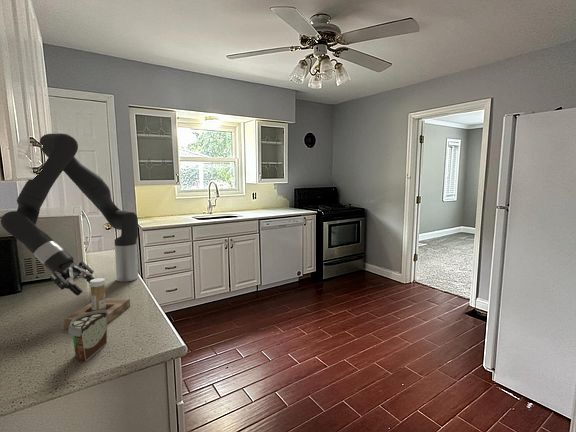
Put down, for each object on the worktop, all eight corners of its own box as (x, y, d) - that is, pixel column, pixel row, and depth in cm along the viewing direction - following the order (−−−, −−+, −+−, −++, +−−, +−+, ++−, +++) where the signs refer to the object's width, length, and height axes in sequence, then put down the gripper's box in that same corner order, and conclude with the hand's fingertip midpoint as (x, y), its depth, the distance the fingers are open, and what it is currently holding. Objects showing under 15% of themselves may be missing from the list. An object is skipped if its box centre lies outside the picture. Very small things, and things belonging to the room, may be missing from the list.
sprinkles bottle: (107, 317, 109) (105, 280, 108) (92, 320, 107) (89, 282, 105) (106, 312, 113) (104, 276, 111) (91, 315, 111) (89, 278, 109)
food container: (90, 340, 94) (88, 308, 93) (110, 340, 94) (108, 309, 93) (59, 364, 82) (56, 328, 81) (81, 365, 82) (79, 329, 80)
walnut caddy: (99, 305, 119) (98, 297, 119) (130, 306, 119) (129, 298, 118) (64, 327, 101) (64, 319, 101) (100, 328, 101) (100, 320, 100)
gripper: (44, 254, 100) (81, 289, 101) (75, 245, 114) (107, 275, 116) (29, 270, 101) (67, 304, 102) (62, 258, 115) (94, 289, 116)
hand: (88, 289), depth 109 cm, fingers open, 8 cm apart
